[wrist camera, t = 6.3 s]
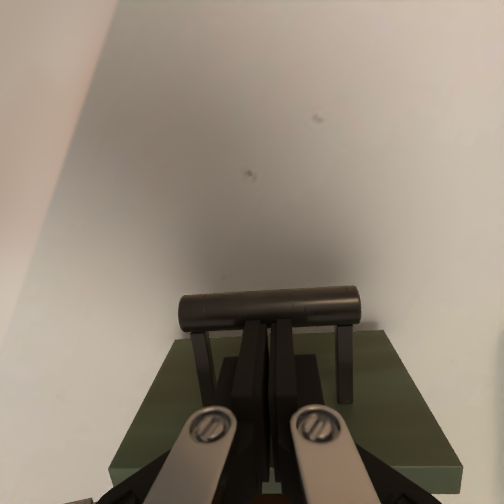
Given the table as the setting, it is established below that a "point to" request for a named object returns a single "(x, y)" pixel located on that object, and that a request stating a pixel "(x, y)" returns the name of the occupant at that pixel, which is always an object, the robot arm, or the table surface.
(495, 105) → the table surface
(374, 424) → the drawer
